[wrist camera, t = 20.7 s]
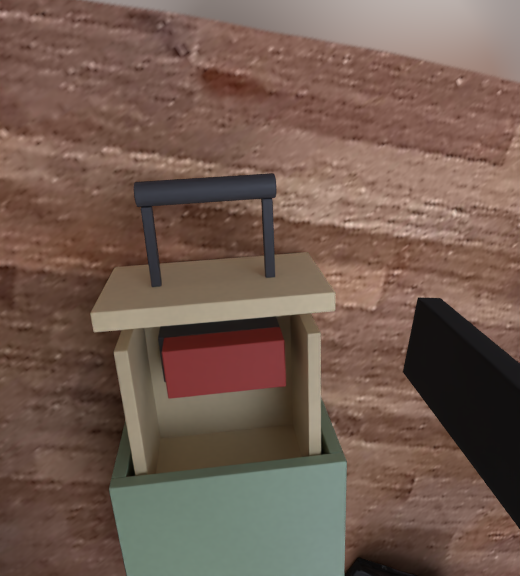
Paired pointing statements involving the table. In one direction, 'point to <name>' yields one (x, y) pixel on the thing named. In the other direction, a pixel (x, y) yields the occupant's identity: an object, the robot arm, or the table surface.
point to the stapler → (222, 356)
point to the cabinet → (234, 516)
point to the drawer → (210, 308)
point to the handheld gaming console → (373, 569)
